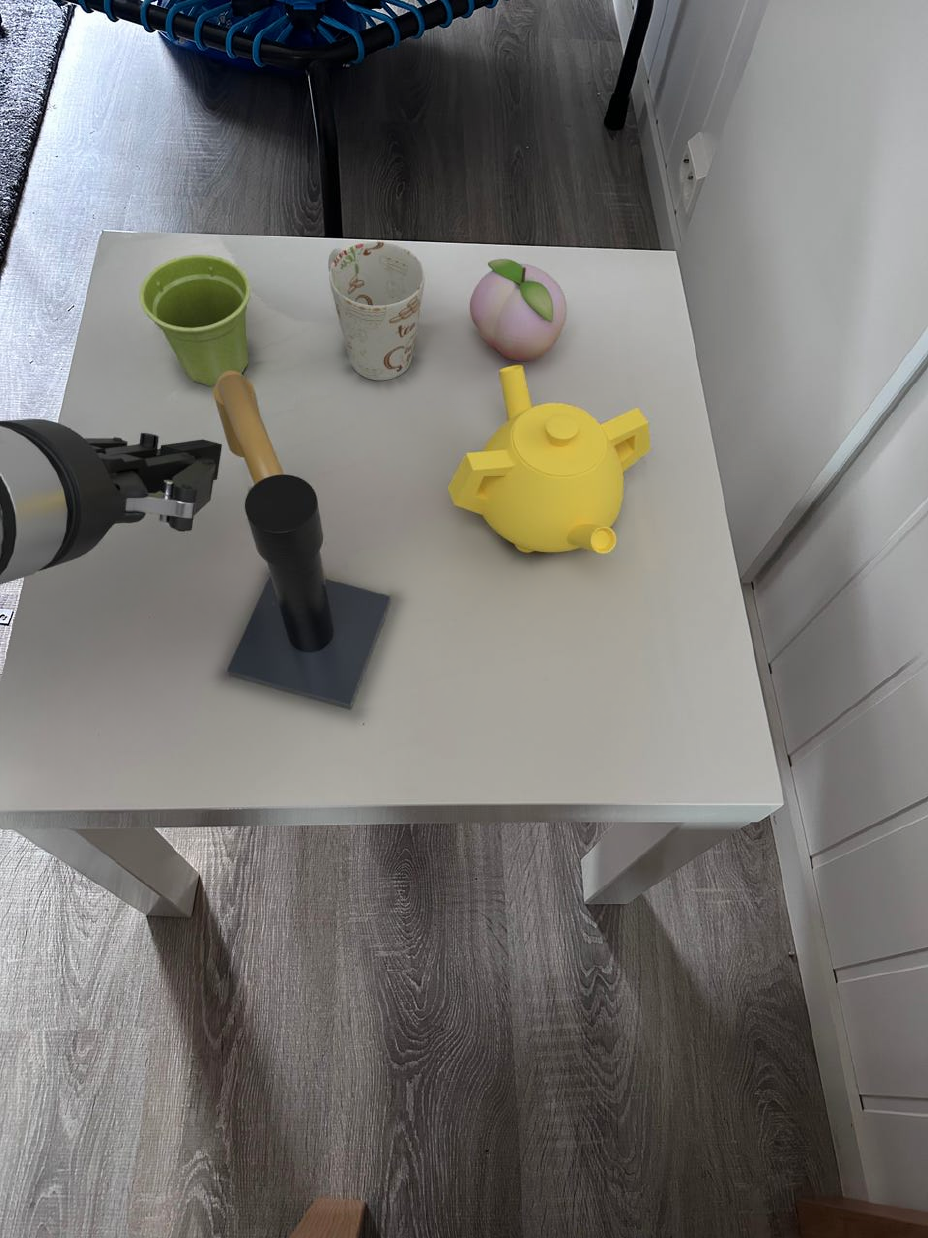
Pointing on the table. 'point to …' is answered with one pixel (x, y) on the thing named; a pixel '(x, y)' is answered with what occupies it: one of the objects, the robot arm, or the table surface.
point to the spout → (268, 480)
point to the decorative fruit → (518, 309)
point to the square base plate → (310, 635)
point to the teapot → (551, 472)
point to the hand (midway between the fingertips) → (209, 459)
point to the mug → (377, 305)
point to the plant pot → (200, 313)
